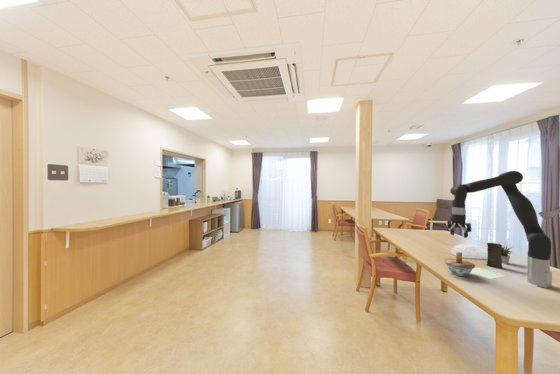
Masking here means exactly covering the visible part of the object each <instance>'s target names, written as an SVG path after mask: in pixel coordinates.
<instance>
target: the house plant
mask: <svg viewBox="0 0 560 374" xmlns="http://www.w3.org/2000/svg"><path fill="white" fill-rule="evenodd" d="M505 244H506V243H504V245H503V246H502V248H501V250H502V251H501V259H502V265H503V264H504V265H508V264H510V258H511V256H510V255H511V253H513V250H512V251H511V249H512V248H513V246H511V247H509V248H508V245H505Z"/></svg>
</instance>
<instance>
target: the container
mask: <svg viewBox="0 0 560 374" xmlns="http://www.w3.org/2000/svg"><path fill="white" fill-rule="evenodd" d="M486 247H487V249H486V250H487V258H486V260H487V261H486V266H487V267H490V268H492V269H498V270H499V269H503V263H502V259H501V251H502V250H501V248H502V247H503V245H502V244H500V243H495V242H487V243H486Z"/></svg>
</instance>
